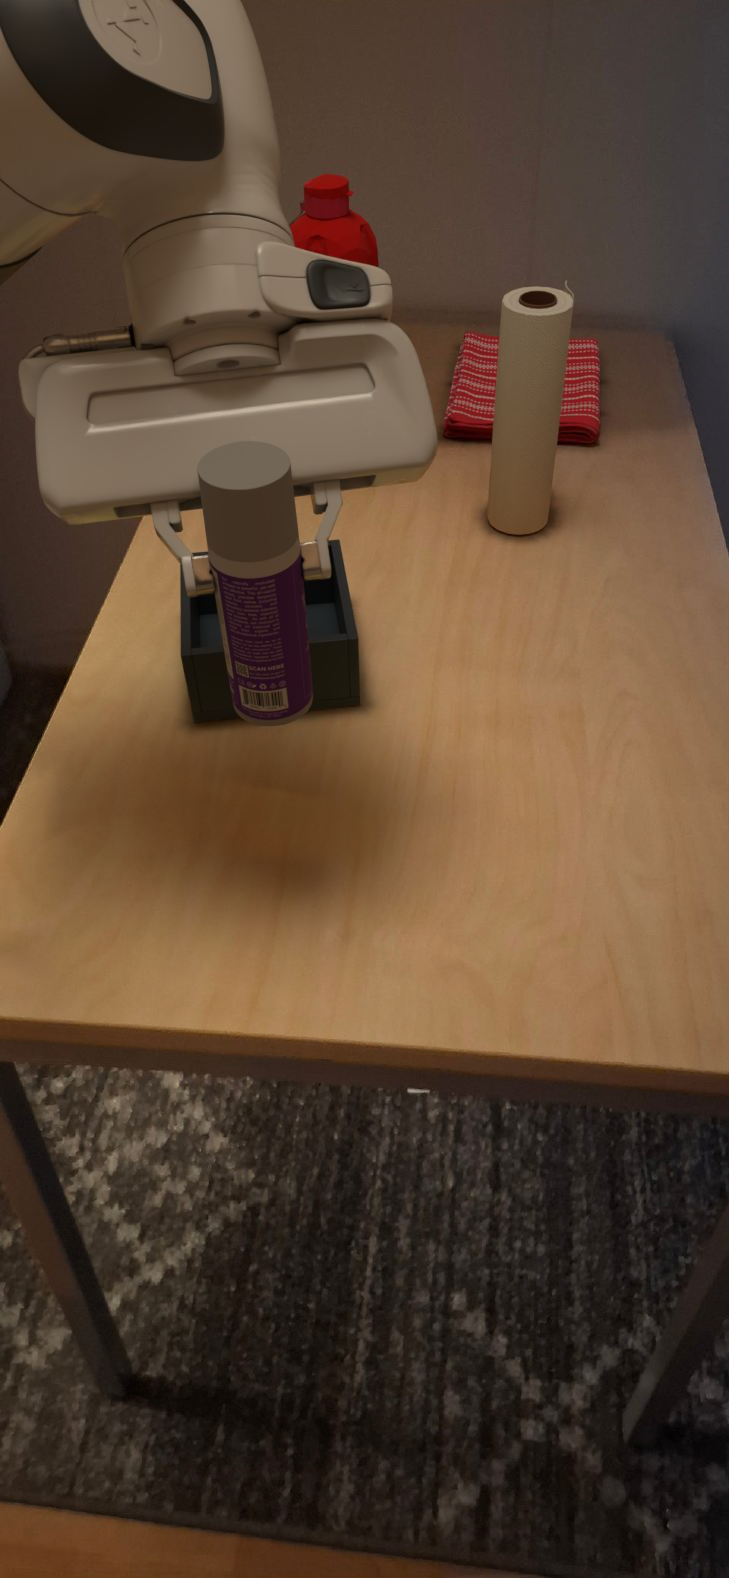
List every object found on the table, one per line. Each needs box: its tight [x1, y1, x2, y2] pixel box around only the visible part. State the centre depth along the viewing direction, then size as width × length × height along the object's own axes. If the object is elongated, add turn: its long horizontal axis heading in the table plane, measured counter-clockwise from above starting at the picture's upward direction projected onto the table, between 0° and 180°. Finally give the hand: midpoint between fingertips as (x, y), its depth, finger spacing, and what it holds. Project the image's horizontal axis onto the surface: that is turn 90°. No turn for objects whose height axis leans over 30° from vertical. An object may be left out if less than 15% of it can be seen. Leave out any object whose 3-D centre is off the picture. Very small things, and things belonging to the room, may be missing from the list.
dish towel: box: [442, 331, 601, 444], centre depth 120 cm, size 17×24×3 cm
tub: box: [179, 539, 362, 723], centre depth 87 cm, size 14×14×7 cm
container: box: [197, 441, 313, 727], centre depth 55 cm, size 5×5×15 cm
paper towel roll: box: [486, 279, 575, 536], centre depth 95 cm, size 7×6×21 cm
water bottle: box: [288, 173, 380, 268], centre depth 108 cm, size 9×11×25 cm
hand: (260, 586), depth 54 cm, fingers closed on container, 4 cm apart
